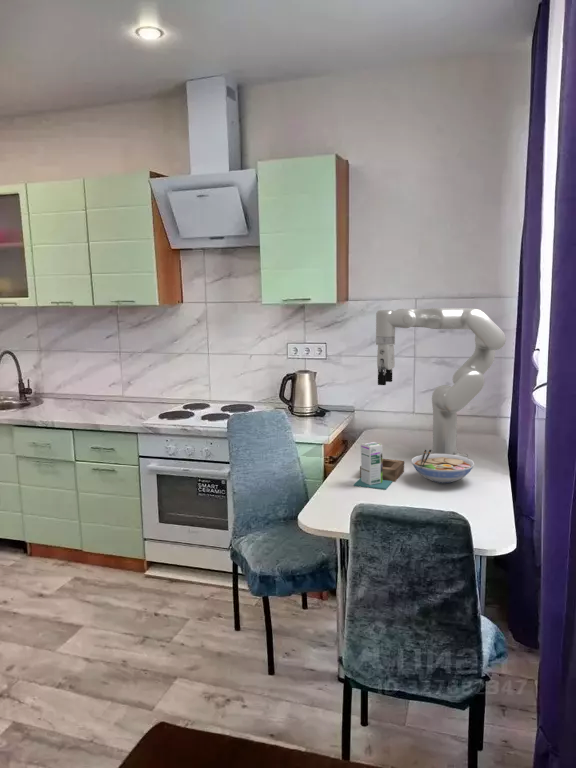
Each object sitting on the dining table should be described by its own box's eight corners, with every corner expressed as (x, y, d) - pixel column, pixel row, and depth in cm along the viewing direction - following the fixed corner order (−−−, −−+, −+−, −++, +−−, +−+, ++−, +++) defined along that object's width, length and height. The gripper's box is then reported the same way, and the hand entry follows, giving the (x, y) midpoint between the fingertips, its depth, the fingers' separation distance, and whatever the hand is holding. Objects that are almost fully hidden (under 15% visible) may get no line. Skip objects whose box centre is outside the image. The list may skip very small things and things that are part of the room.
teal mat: (392, 482, 222) (392, 480, 222) (385, 489, 214) (385, 488, 214) (361, 478, 227) (361, 477, 227) (353, 485, 219) (353, 484, 219)
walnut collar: (403, 471, 235) (404, 460, 234) (395, 481, 223) (395, 470, 222) (370, 468, 240) (370, 457, 240) (360, 477, 228) (360, 466, 228)
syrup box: (370, 485, 217) (370, 446, 215) (360, 481, 222) (360, 443, 220) (382, 483, 219) (383, 444, 217) (373, 478, 225) (373, 441, 222)
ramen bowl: (471, 494, 208) (472, 471, 206) (405, 487, 216) (405, 465, 214) (476, 473, 231) (476, 453, 230) (415, 468, 239) (416, 448, 238)
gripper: (388, 342, 231) (388, 386, 233) (399, 339, 246) (399, 380, 249) (370, 342, 234) (369, 385, 236) (382, 339, 249) (381, 380, 252)
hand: (385, 383), depth 242 cm, fingers open, 9 cm apart
